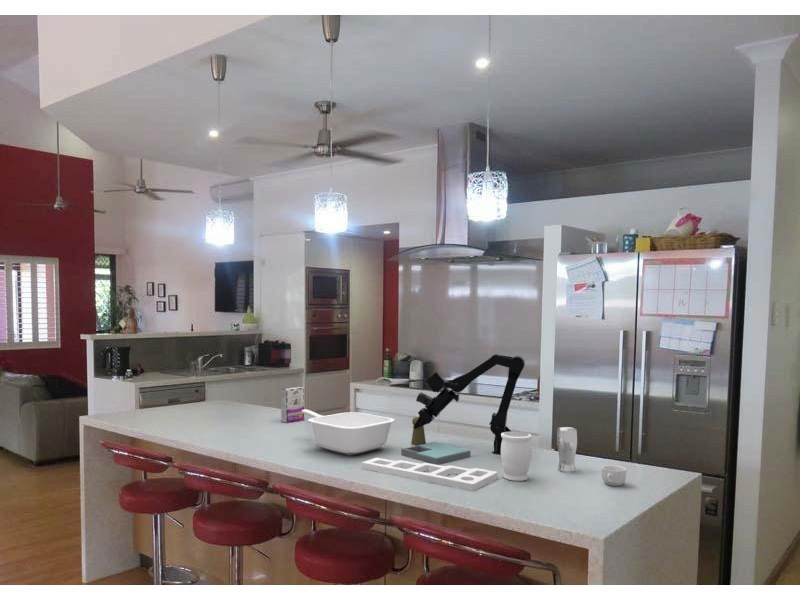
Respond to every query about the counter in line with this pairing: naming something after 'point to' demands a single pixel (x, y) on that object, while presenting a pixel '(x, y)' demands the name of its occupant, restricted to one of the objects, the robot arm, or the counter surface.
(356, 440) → the pot
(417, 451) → the teal gray square board
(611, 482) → the teacup
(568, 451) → the beer glass
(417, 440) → the brown waisted cylinder
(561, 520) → the counter surface
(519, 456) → the jar
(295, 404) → the candy bar box
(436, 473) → the holder
